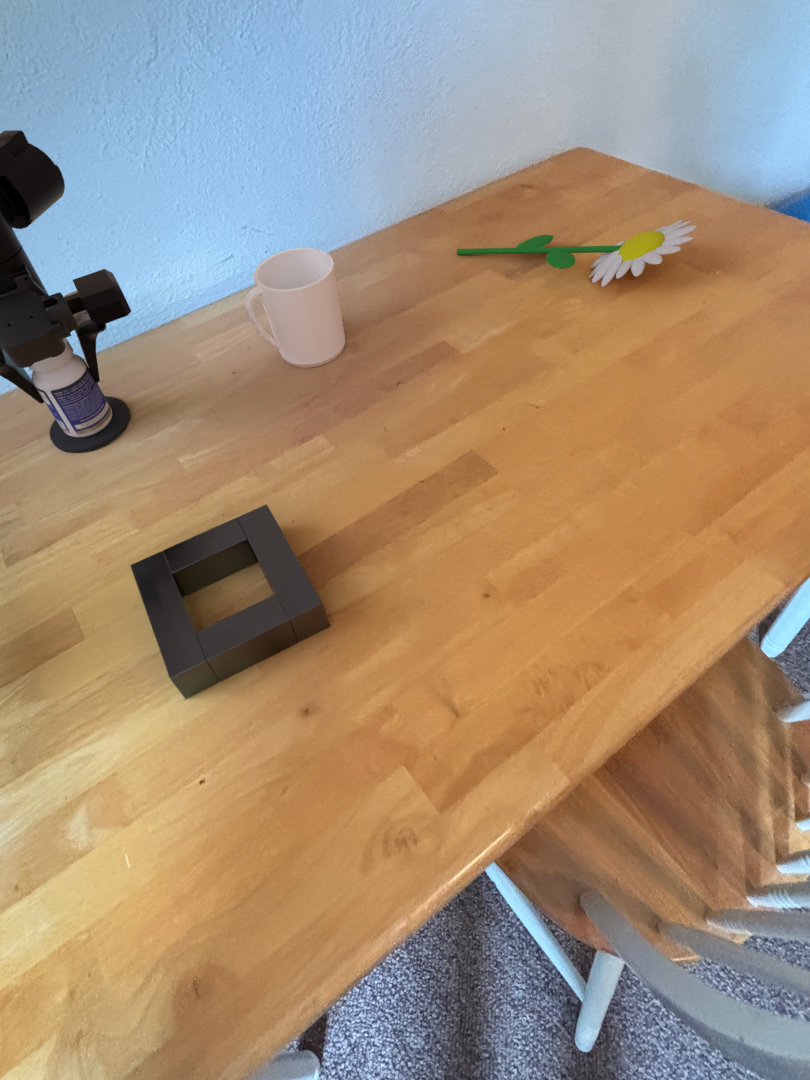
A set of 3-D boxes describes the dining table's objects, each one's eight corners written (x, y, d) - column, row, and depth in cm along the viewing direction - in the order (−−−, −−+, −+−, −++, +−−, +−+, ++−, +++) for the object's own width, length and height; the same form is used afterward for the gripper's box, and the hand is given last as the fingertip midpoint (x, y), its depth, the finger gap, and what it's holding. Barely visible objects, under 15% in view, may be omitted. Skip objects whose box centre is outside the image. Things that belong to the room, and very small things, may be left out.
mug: (327, 317, 89) (310, 239, 81) (363, 349, 84) (348, 269, 76) (249, 352, 86) (223, 275, 78) (281, 388, 81) (257, 309, 73)
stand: (185, 699, 57) (169, 678, 54) (145, 588, 65) (129, 564, 62) (331, 626, 60) (323, 603, 57) (275, 528, 68) (266, 503, 65)
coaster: (59, 464, 77) (56, 460, 76) (45, 419, 82) (43, 415, 82) (139, 432, 79) (137, 428, 78) (120, 390, 84) (118, 386, 84)
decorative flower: (443, 295, 94) (683, 297, 81) (437, 259, 90) (686, 256, 77) (477, 251, 101) (701, 247, 88) (472, 217, 98) (704, 207, 85)
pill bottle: (121, 405, 81) (81, 331, 74) (103, 439, 78) (59, 364, 70) (75, 406, 82) (31, 332, 75) (55, 439, 79) (7, 366, 71)
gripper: (-115, 332, 58) (-9, 469, 70) (108, 256, 62) (172, 397, 74) (-118, 275, 64) (-21, 408, 76) (83, 210, 69) (145, 346, 81)
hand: (70, 390), depth 77 cm, fingers closed on pill bottle, 6 cm apart
